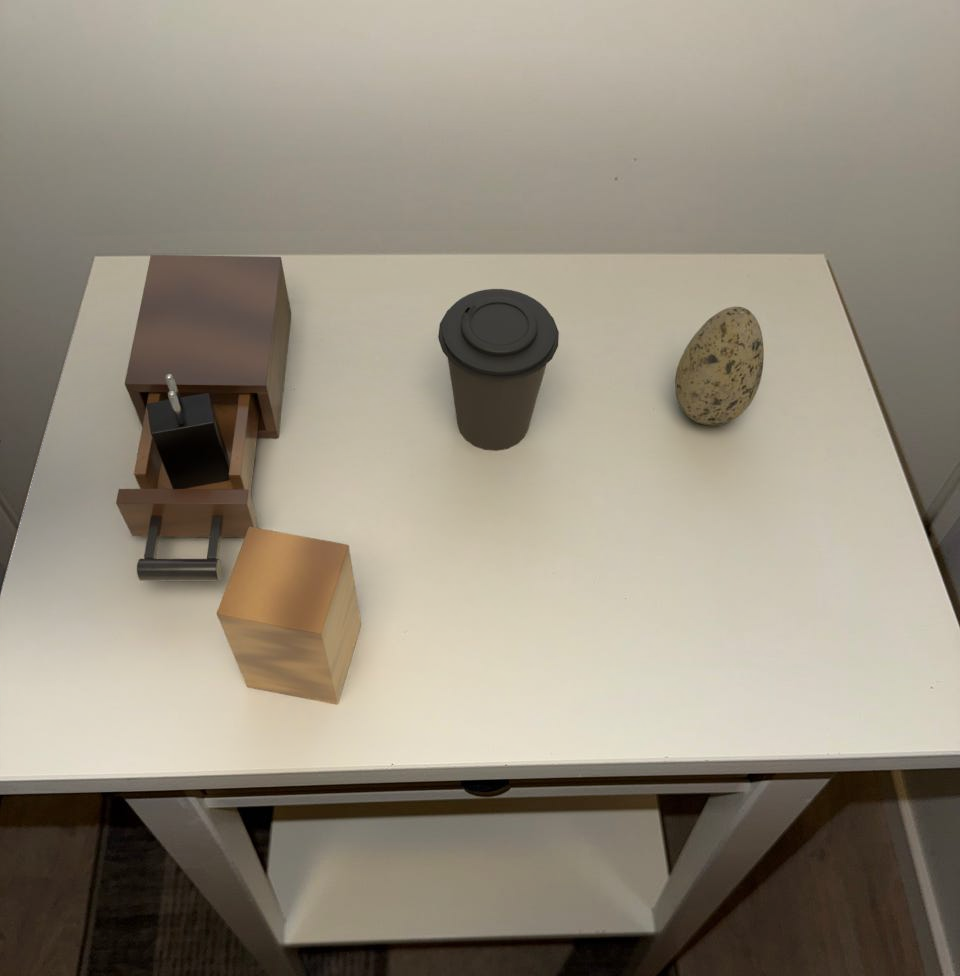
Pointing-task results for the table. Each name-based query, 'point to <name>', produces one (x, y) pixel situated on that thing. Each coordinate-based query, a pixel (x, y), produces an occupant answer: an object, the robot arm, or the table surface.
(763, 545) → the table surface
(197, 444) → the black wall charger
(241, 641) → the pedestal
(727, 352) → the decorative egg
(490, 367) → the coffee cup
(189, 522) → the drawer
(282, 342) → the cabinet
